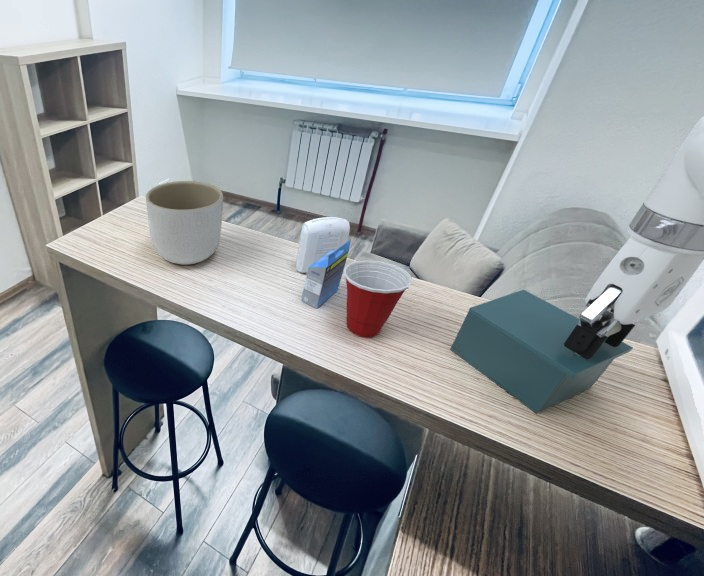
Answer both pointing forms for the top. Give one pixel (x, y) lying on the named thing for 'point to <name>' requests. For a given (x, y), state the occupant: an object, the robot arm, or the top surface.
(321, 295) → the label tape box
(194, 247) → the planter
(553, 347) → the lid
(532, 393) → the chest
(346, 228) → the photo printer
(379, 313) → the plastic cup
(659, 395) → the top surface
